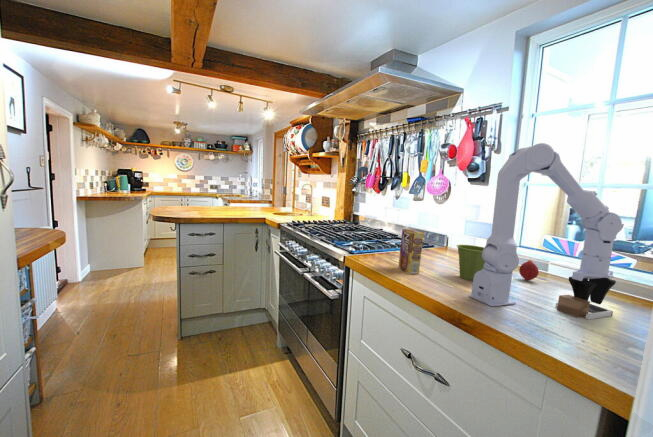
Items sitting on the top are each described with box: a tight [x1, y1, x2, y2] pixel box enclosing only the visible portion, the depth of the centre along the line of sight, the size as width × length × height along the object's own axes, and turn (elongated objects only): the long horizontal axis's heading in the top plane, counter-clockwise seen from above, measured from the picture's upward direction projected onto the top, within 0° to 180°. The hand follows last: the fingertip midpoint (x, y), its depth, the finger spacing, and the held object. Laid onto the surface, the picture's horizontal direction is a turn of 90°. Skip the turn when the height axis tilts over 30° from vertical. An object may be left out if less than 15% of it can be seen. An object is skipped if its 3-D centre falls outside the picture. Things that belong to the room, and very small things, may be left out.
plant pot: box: [456, 244, 485, 282], centre depth 104 cm, size 12×12×11 cm
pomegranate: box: [518, 258, 539, 282], centre depth 107 cm, size 6×6×8 cm
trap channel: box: [554, 302, 614, 320], centre depth 80 cm, size 11×8×1 cm
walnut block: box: [556, 294, 591, 318], centre depth 79 cm, size 4×5×4 cm
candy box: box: [397, 228, 425, 275], centre depth 109 cm, size 9×4×15 cm, turn 13°
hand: (588, 304), depth 81 cm, fingers open, 6 cm apart
